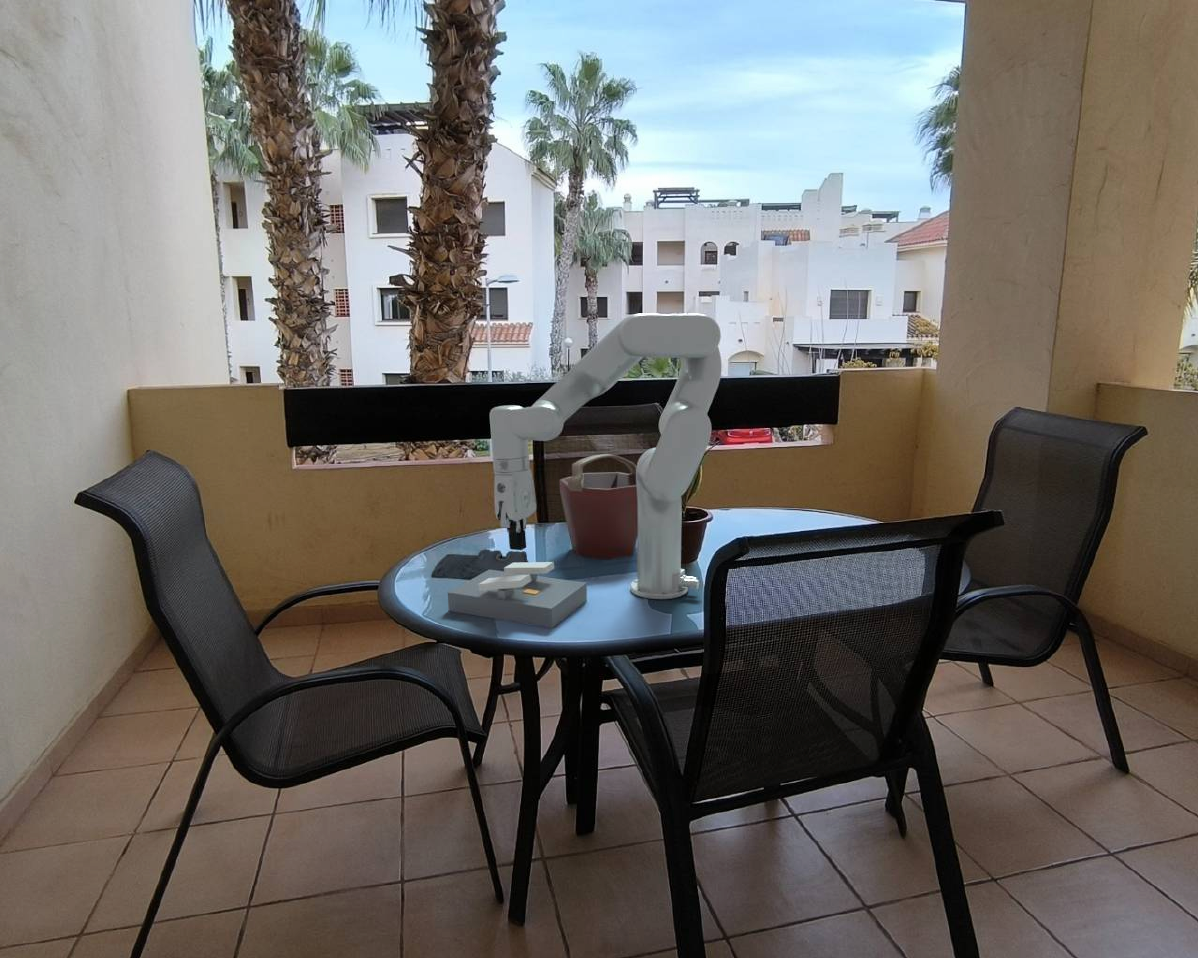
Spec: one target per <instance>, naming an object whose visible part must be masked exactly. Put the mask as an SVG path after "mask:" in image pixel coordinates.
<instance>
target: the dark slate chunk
mask: <svg viewBox="0 0 1198 958" xmlns="http://www.w3.org/2000/svg"><path fill="white" fill-rule="evenodd" d="M520 562H529V560H528V554H527V552H526V551H524V550H521V551H519V550H509V551H508V552H507V553H506V554H505V556H504V555H503V553H502V552H501V550H490V549H483V550H482V549H481V550H480V551H479V552H478V554H461V553H460V554H459V553H447V554H446V555H444V556H443V557H442V558H441V559H440V560H439V561H438V562H437V564H436V565H435V567H434V569H433V570H432V572H431V578H432V579H433V578H435V579H449V580H462V581H463V580H465V581H466V580H467V581H469V580H471V579H473V578H475V577H477V576H478V575H480V574H482V573H484V572H486V571H488V570H489V569H490V570H497V571H504V568H505V567H506V566H508V565H510V564H512V563H520Z"/></svg>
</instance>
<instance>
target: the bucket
mask: <svg viewBox="0 0 1198 958" xmlns="http://www.w3.org/2000/svg"><path fill="white" fill-rule="evenodd" d="M606 458H611V459H614V460H617V461H619V462H621V463H623V464H625V465H626V467H627V468H628V469H629V471H630V473H626V472H620V471H615V472H612V471H611V472H584V467H585V466H586V465H588V464H590V463H593V462H594V461H597V460H600V459H606ZM636 467H637V464H635V463H634V462H633V461H630V460H628V459H627V458H624V457H622V456H619V455H615V454H610V453H609V454H608V453H605V454H603V453H602V454H596V455H595V454H594V455H590V456H588V457H584V458H581V459H578V460H577V461H575V462H573V463H572V464H571V476H568V477H564V478H561V479H559V494H560V498H561V503H562V507H563V511H564V516H565V517H564V518H565V522H566V526H567V531H568V536H569V540H570V541H569V542H570V545H571V549H572V550H573V551H574V552H575V553H576V554H577V555H578V556H579V557H580V558H589V559H598V560H606V561H607V560H613V559H617V558H618V559H619V558H623V557H629V556H633V555H634V553H635V549H636V547H637V521H638V514H637V487H636ZM635 546H636V547H635Z"/></svg>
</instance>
